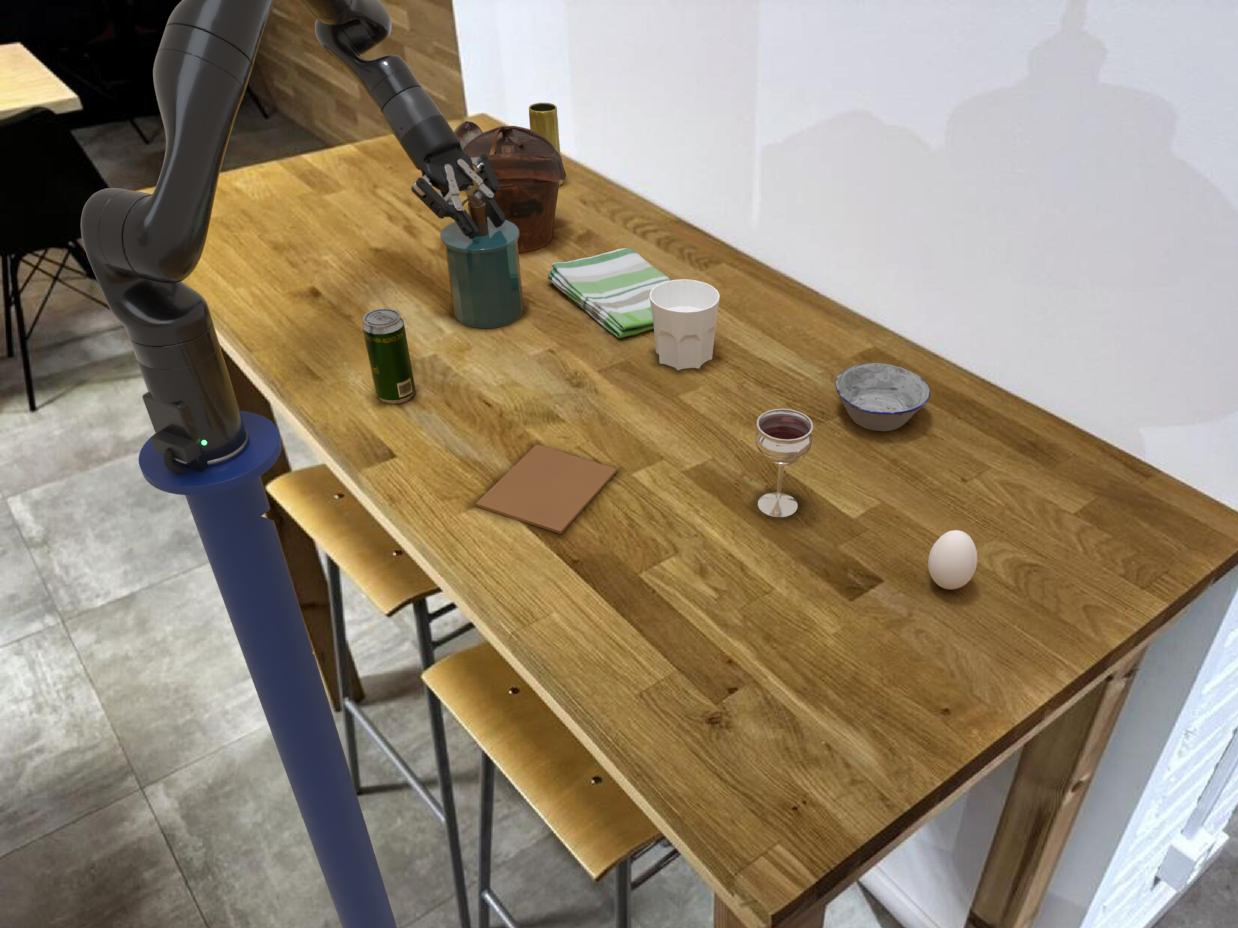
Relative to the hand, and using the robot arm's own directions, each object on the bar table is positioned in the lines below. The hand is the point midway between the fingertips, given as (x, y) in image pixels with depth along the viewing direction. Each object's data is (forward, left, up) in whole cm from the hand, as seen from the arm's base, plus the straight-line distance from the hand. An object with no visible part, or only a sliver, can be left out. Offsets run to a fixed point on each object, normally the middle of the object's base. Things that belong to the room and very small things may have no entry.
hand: (488, 229), depth 158 cm
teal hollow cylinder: (0, +2, -14) cm, 14 cm away
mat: (-35, -30, -14) cm, 48 cm away
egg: (-30, -80, -14) cm, 87 cm away
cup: (+2, -31, -14) cm, 34 cm away
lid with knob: (0, +2, -2) cm, 3 cm away
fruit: (+43, +35, -14) cm, 57 cm away
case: (+25, +13, -14) cm, 32 cm away
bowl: (0, -62, -14) cm, 64 cm away
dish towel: (+14, -15, -14) cm, 25 cm away
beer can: (-26, 0, -14) cm, 29 cm away
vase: (+49, +21, -14) cm, 56 cm away
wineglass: (-25, -57, -14) cm, 64 cm away
